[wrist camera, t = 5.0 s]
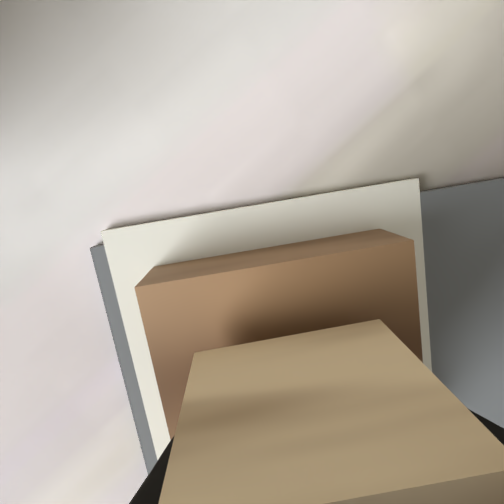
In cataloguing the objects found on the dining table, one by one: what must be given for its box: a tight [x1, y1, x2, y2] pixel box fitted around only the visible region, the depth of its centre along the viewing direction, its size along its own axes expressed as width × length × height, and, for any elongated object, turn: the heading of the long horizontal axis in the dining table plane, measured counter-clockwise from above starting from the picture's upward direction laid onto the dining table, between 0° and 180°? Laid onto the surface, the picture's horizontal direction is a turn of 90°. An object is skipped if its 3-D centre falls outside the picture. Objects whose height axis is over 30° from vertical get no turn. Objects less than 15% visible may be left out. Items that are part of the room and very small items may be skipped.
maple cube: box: [158, 319, 504, 504], centre depth 8 cm, size 5×5×5 cm
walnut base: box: [134, 229, 423, 440], centre depth 12 cm, size 8×8×2 cm
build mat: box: [90, 178, 504, 475], centre depth 15 cm, size 18×16×1 cm
